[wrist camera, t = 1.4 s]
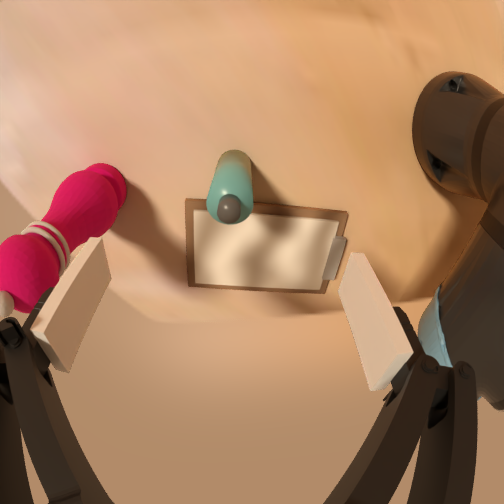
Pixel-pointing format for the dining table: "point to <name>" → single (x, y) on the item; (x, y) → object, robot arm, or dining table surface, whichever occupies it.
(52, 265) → the pepper mill
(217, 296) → the dining table surface
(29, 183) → the dining table surface
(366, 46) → the dining table surface
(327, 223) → the clipboard
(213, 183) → the bottle
